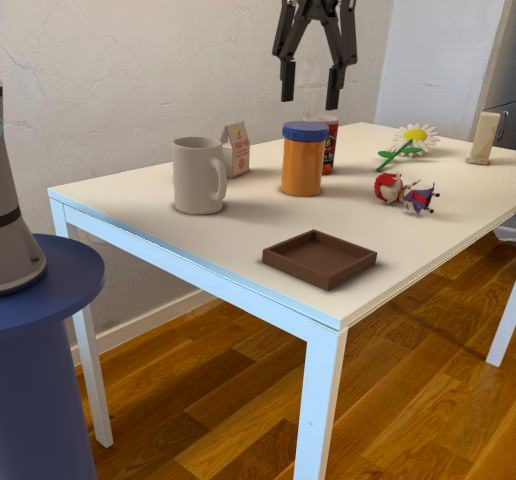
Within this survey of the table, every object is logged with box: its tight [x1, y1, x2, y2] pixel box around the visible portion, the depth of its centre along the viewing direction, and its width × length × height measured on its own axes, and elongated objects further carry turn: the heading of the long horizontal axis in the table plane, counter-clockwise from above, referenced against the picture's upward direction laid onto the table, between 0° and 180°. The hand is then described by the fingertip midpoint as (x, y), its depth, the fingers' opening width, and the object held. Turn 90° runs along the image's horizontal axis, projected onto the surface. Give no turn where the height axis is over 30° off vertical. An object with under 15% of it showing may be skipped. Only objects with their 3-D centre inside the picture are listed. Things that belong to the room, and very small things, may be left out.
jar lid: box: [281, 120, 329, 142], centre depth 94 cm, size 9×9×2 cm
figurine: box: [373, 172, 441, 216], centre depth 93 cm, size 6×8×15 cm
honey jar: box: [280, 136, 326, 197], centre depth 97 cm, size 8×8×12 cm
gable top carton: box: [219, 120, 251, 179], centre depth 106 cm, size 4×7×10 cm, turn 149°
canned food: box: [302, 113, 340, 176], centre depth 110 cm, size 8×8×11 cm
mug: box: [171, 136, 228, 216], centre depth 86 cm, size 12×8×11 cm
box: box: [468, 111, 502, 166], centre depth 122 cm, size 5×4×11 cm
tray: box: [261, 228, 379, 292], centre depth 72 cm, size 12×12×2 cm
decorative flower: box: [376, 122, 441, 172], centre depth 124 cm, size 13×5×30 cm
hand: (308, 105), depth 92 cm, fingers open, 10 cm apart
